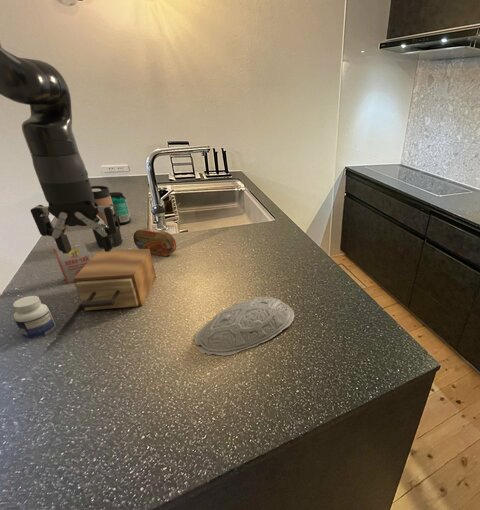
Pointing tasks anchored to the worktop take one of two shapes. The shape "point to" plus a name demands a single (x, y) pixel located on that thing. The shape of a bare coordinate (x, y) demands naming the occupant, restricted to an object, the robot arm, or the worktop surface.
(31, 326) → the pill bottle
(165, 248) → the tin
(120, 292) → the drawer
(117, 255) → the cabinet
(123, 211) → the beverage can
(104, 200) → the travel mug
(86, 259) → the white cardboard box
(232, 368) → the worktop surface
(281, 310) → the turtle shell
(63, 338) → the worktop surface
